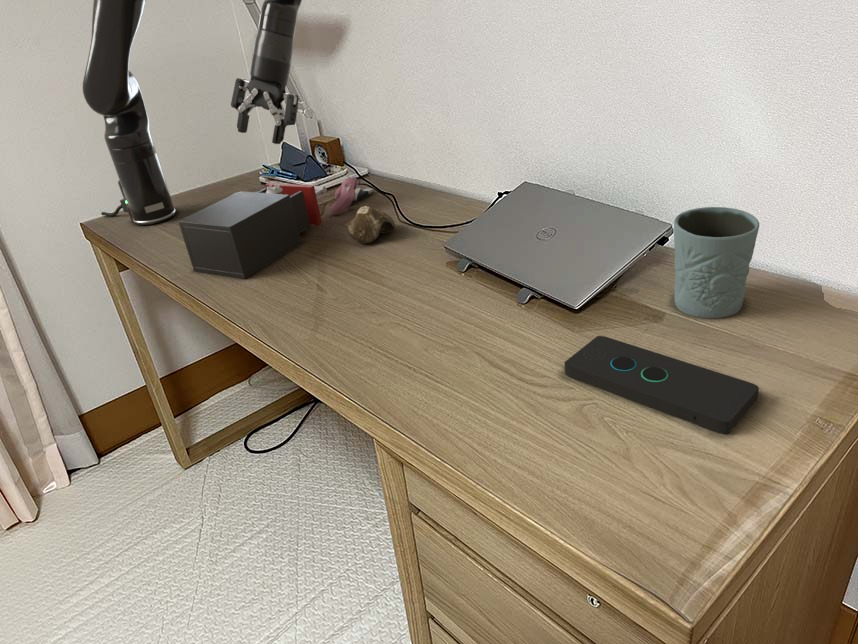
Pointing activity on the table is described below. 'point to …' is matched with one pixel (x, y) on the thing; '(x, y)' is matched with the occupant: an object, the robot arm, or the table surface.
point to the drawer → (302, 203)
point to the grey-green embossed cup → (712, 260)
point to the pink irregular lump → (344, 196)
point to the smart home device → (663, 383)
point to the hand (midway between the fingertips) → (258, 137)
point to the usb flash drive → (361, 193)
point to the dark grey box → (240, 233)
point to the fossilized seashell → (369, 224)
